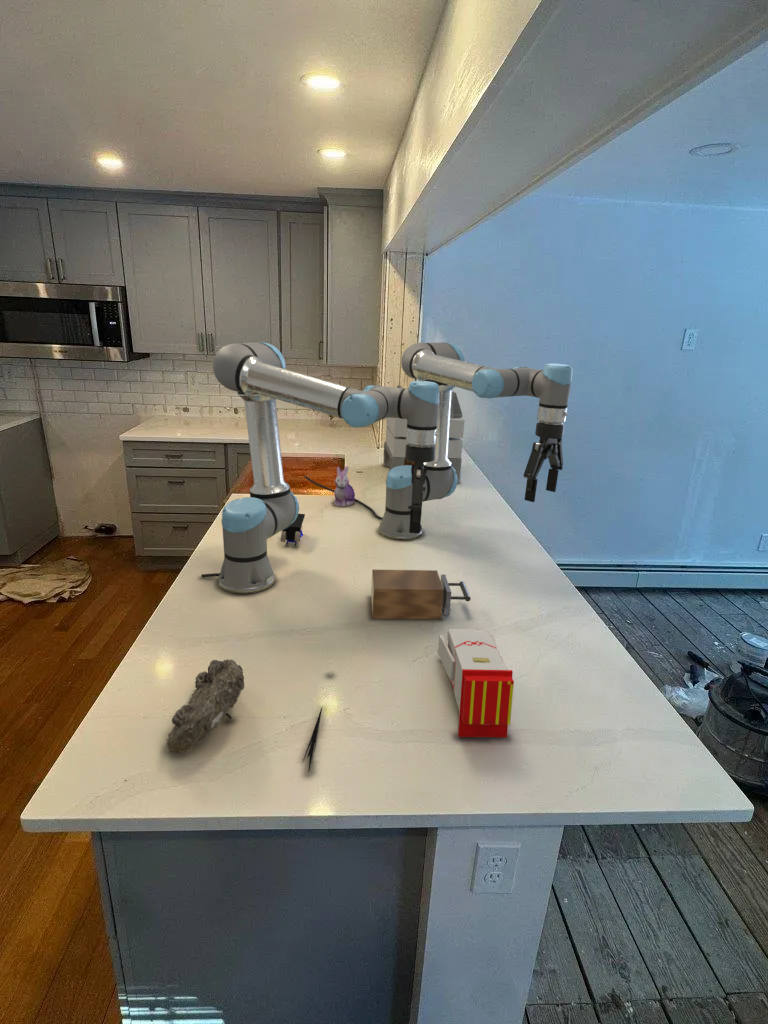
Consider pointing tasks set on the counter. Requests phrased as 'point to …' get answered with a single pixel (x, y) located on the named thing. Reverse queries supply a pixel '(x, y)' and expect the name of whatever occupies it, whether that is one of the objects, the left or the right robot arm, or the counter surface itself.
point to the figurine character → (293, 531)
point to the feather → (313, 740)
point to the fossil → (206, 705)
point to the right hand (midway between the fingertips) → (540, 495)
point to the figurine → (343, 489)
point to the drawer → (447, 593)
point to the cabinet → (406, 594)
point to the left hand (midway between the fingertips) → (415, 523)
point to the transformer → (397, 443)
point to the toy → (478, 682)
